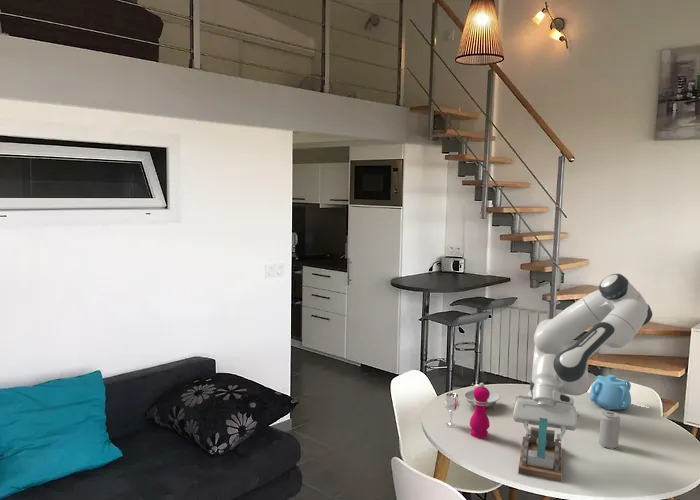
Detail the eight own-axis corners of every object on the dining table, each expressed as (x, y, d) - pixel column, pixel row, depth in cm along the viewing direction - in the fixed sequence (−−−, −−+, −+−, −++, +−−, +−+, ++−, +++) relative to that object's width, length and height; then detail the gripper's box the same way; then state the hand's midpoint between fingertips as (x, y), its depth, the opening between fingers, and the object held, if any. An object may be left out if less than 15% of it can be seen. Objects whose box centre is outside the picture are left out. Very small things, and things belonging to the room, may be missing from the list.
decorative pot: (634, 406, 254) (637, 375, 252) (625, 416, 241) (627, 384, 240) (595, 396, 264) (598, 367, 262) (584, 406, 251) (586, 375, 250)
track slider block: (527, 458, 194) (530, 414, 193) (553, 462, 192) (556, 418, 190) (527, 464, 190) (530, 420, 188) (553, 469, 187) (556, 424, 185)
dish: (485, 417, 235) (485, 405, 234) (455, 407, 245) (455, 395, 244) (506, 406, 248) (507, 395, 247) (477, 397, 257) (478, 386, 257)
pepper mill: (489, 440, 213) (492, 387, 211) (469, 437, 215) (472, 385, 213) (488, 432, 220) (491, 380, 218) (469, 430, 222) (471, 378, 220)
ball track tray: (522, 441, 213) (524, 423, 212) (560, 448, 208) (562, 429, 208) (518, 473, 188) (519, 452, 188) (561, 481, 184) (562, 460, 183)
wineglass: (454, 429, 222) (456, 398, 220) (440, 425, 225) (442, 395, 224) (460, 424, 227) (462, 394, 225) (446, 421, 230) (448, 391, 228)
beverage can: (616, 443, 214) (619, 412, 213) (618, 450, 208) (621, 418, 207) (598, 440, 216) (600, 409, 215) (599, 447, 210) (601, 415, 209)
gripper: (514, 390, 199) (510, 428, 191) (578, 399, 193) (577, 439, 185) (514, 398, 204) (510, 436, 196) (576, 407, 198) (576, 447, 189)
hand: (543, 437), depth 190 cm, fingers open, 8 cm apart
